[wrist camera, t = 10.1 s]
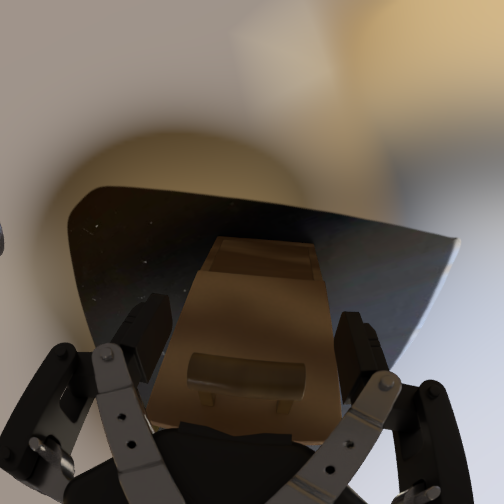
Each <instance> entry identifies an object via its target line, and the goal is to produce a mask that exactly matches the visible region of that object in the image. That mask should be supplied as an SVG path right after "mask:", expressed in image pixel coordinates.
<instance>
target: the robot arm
mask: <svg viewBox="0 0 504 504" xmlns="http://www.w3.org/2000/svg"><path fill="white" fill-rule="evenodd" d="M171 331H172V315H171V308H170V302H169V297H168V295H162V294H155V293H152V294H151V295H150V297H149V298H148V300H147V301H146V303H144V302H141V303H139V304H138V305H136V306H135V307H134V308H133V309H132V310H131V312H130V313H129V315H128V316H127V318H126V319H125V321H124V322H123V323H122V325H121V326H120V328H119V330H118V331H117V333H116V334H115V336H114V337H113V339H112V340H111V342H110V343H104V344H101V345H99V346H98V347H96V348H95V349H94V351H93V352H77V351H76V349H75V347H74V346H73V345H72V344H70V343H60V344H57V345H56V346H54V347H53V348H52V349H51V351H50V352H49V354H48V355H47V357H46V358H45V360H44V361H43V363H42V364H41V366H40V367H39V369H38V370H37V372H36V373H35V375H34V377H33V378H32V380H31V381H30V383H29V385H28V387H27V388H26V390H25V391H24V393H23V395H22V396H21V398H20V400H19V402H18V403H17V405H16V407H15V409H14V411H13V412H12V414H11V416H10V418H9V420H8V422H7V424H6V426H5V428H4V430H3V432H2V434H1V436H0V468H2V469H3V470H4V471H6V472H7V473H9V474H10V475H12V476H13V477H14V478H15V479H17V480H18V481H20V482H21V483H23V484H25V485H26V486H28V487H30V488H32V489H34V490H37V491H38V492H40V493H42V494H44V495H47V496H49V497H51V498H53V499H54V500H56V501H58V502H60V503H62V504H367V503H366V502H365V501H364V500H363V499H362V498H361V497H360V496H359V495H358V494H357V493H356V492H355V491H354V490H353V489H352V488H350V486H349V485H348V483H349V482H350V481H351V479H352V477H353V476H354V475H355V473H356V472H357V471H358V469H359V468H360V466H361V465H362V463H363V462H364V460H365V459H366V457H367V455H368V454H369V452H370V451H371V449H372V447H373V446H374V444H375V443H376V441H377V439H378V437H379V436H380V434H381V432H382V430H383V429H388V430H392V432H393V438H394V445H395V453H396V461H397V469H398V479H399V490H400V494H399V495H397V496H396V497H395V498H394V499H393V501H392V503H391V504H474V500H473V492H472V486H471V480H470V475H469V470H468V465H467V461H466V456H465V452H464V448H463V444H462V440H461V436H460V433H459V429H458V426H457V423H456V419H455V416H454V413H453V410H452V407H451V404H450V400H449V398H448V395H447V392H446V389H445V388H444V386H443V385H442V384H441V383H439V382H438V381H435V380H426V381H424V382H423V383H422V384H421V385H420V386H419V387H416V386H412V385H406V384H402V383H401V380H400V379H399V377H398V376H397V375H396V374H394V373H393V372H390V371H389V368H388V365H387V362H386V359H385V357H384V354H383V351H382V348H381V347H380V346H381V345H380V342H379V340H378V337H377V334H376V331H375V330H374V329H373V328H372V327H371V325H370V324H369V323H363V321H362V318H361V316H360V313H359V312H342V314H341V317H340V321H339V324H338V327H337V330H336V334H335V337H334V352H335V358H336V363H337V369H338V375H339V381H340V387H341V394H342V400H343V405H344V404H351V406H352V407H351V408H350V409H349V410H348V411H347V412H346V414H345V415H344V417H343V418H342V419H341V421H340V422H339V423H338V425H337V426H336V427H335V429H334V430H333V431H332V432H331V434H330V435H329V436H328V438H327V439H326V440H325V441H324V442H323V444H322V445H321V446H320V447H319V449H318V450H317V451H316V452H315V451H313V450H312V449H310V448H309V447H307V446H305V445H303V444H300V443H297V442H294V441H292V434H275V433H259V434H252V435H243V436H232V435H229V434H226V433H224V432H221V431H218V430H216V429H213V428H210V427H208V426H203V425H198V424H192V423H187V422H182V421H180V424H179V427H178V428H169V429H164V430H161V431H158V432H155V430H154V428H153V426H152V424H151V421H150V419H149V417H148V414H147V412H146V409H145V407H144V404H143V402H142V399H141V397H140V394H139V391H138V389H137V386H138V384H139V382H143V383H147V384H148V382H149V380H150V378H151V376H152V373H153V371H154V369H155V366H156V364H157V362H158V360H159V358H160V355H161V353H162V351H163V349H164V347H165V344H166V342H167V340H168V338H169V336H170V333H171ZM66 387H67V388H66ZM65 389H66V390H65ZM64 390H65V391H64ZM63 392H64V393H63ZM62 394H63V395H62ZM61 396H62V397H61ZM60 398H61V399H60ZM94 398H96V400H97V404H98V408H99V412H100V416H101V420H102V424H103V427H104V431H105V434H106V437H107V441H108V444H109V447H110V450H111V453H112V456H113V457H112V458H110V459H109V460H107V461H105V462H103V463H101V464H99V465H97V466H95V467H94V468H92V469H90V470H88V471H86V472H84V473H82V474H80V475H78V476H76V477H74V476H73V475H74V473H75V470H74V461H73V459H72V457H71V452H72V450H73V447H74V445H75V442H76V440H77V437H78V435H79V433H80V430H81V428H82V425H83V423H84V421H85V418H86V416H87V414H88V412H89V409H90V407H91V405H92V403H93V400H94Z"/></svg>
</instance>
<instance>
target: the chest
mask: <svg viewBox="0 0 504 504" xmlns="http://www.w3.org/2000/svg"><path fill="white" fill-rule="evenodd" d="M200 271H210V272H221V273H231V274H242V275H254V276H265V277H277V278H289V279H302V280H315V281H323V279H322V275H321V271H320V267H319V263H318V259H317V255H316V252H315V248H314V244H309V243H297V242H286V241H274V240H262V239H249V238H237V237H224V236H218V237H217V239H216V241H215V243H214V244H213V246H212V248H211V250H210V252H209V254H208V256H207V258H206V260H205V262H204V264H203V266H202V268H201V270H200Z"/></svg>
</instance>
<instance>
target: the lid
mask: <svg viewBox="0 0 504 504" xmlns="http://www.w3.org/2000/svg"><path fill="white" fill-rule="evenodd" d="M146 412H147V414H148V417H149V419H150V421H151V424H152V425H155V426H158V427H162V428H166V429H169V428H178V427H179V424H180V421H182V422H187V423H192V424H198V425H203V426H208V427H210V428H213V429H216V430H218V431H221V432H224V433H226V434H229V435H232V436H243V435H252V434H259V433H275V434H292V441H294V442H297V443H300V444H303V445H322V444H323V442H324V441H325V440H326V439H327V438H328V436H329V435H330V434H331V432H332V431H333V430H334V429H335V427H336V426H337V425H338V423H339V422H340V421H341V419H342V414H341V402H340V391H339V381H338V371H337V363H336V358H335V352H334V338H333V331H332V324H331V317H330V310H329V304H328V298H327V291H326V286H325V281H315V280H302V279H289V278H277V277H265V276H254V275H242V274H231V273H221V272H210V271H200V270H198V272H197V274H196V277H195V279H194V282H193V284H192V287H191V289H190V291H189V294H188V296H187V299H186V302H185V304H184V307H183V309H182V312H181V314H180V317H179V319H178V322H177V325H176V327H175V330H174V332H173V335H172V338H171V340H170V343H169V346H168V348H167V351H166V354H165V357H164V359H163V362H162V365H161V368H160V370H159V373H158V376H157V379H156V382H155V384H154V387H153V390H152V393H151V396H150V399H149V402H148V405H147V408H146Z"/></svg>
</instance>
